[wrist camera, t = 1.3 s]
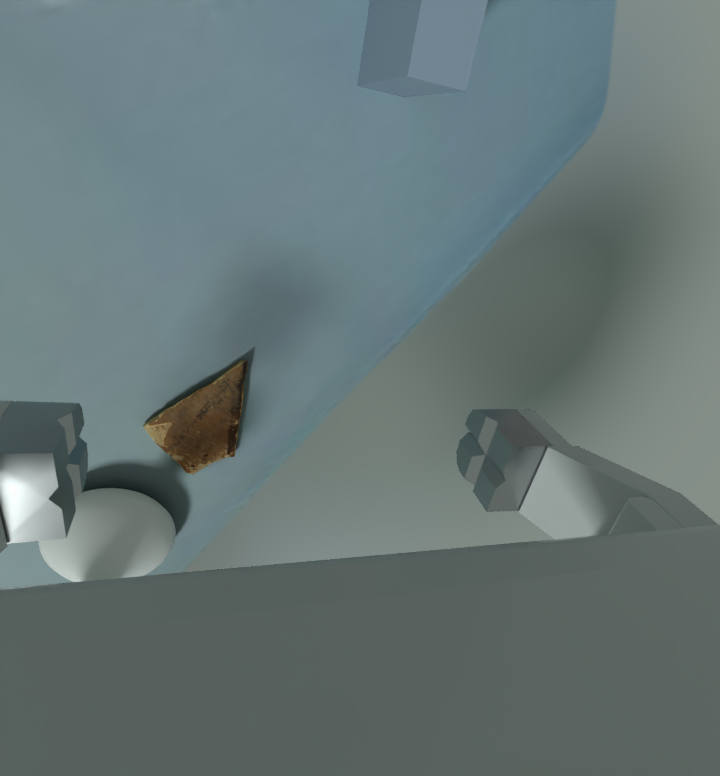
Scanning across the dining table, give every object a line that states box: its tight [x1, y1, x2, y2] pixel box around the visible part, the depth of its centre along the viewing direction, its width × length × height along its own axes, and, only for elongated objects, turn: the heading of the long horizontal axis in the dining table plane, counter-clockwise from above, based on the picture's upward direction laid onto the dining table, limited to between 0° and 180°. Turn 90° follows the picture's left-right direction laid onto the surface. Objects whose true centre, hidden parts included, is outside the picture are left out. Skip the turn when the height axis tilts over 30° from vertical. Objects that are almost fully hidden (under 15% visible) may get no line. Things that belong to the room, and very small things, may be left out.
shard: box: [143, 360, 248, 474], centre depth 42 cm, size 11×8×2 cm
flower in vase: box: [38, 488, 176, 582], centre depth 34 cm, size 13×11×25 cm
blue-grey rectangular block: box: [357, 0, 488, 97], centre depth 28 cm, size 7×4×10 cm, turn 169°
